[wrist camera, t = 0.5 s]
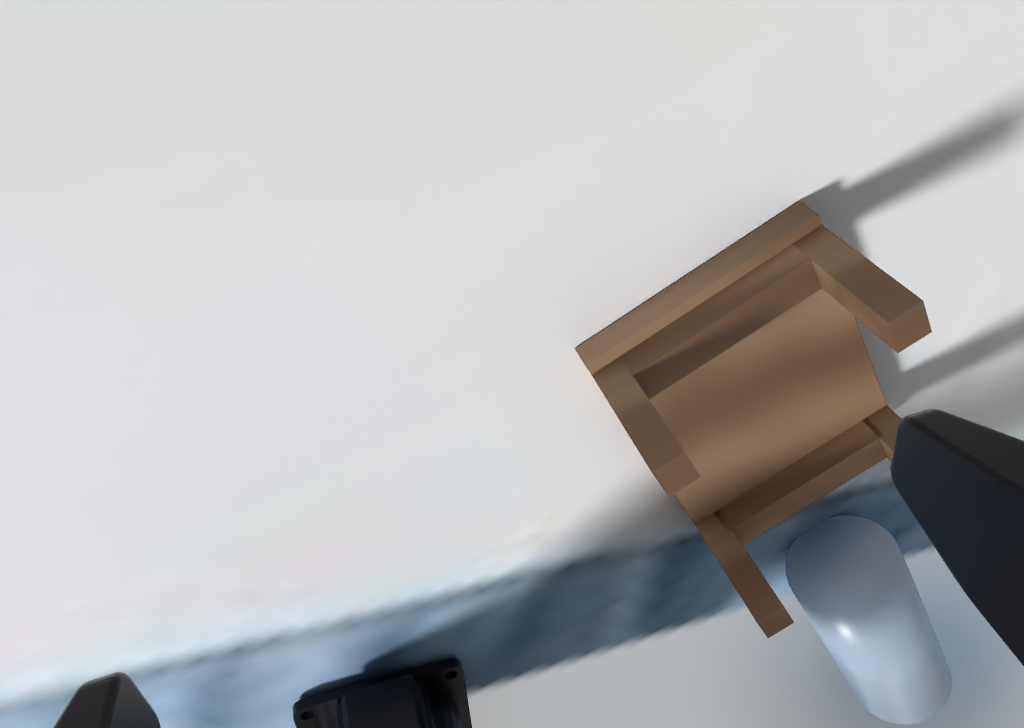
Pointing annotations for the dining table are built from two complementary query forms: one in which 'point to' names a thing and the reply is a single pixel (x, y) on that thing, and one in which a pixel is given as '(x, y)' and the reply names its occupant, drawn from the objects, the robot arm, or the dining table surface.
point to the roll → (870, 617)
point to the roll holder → (758, 384)
